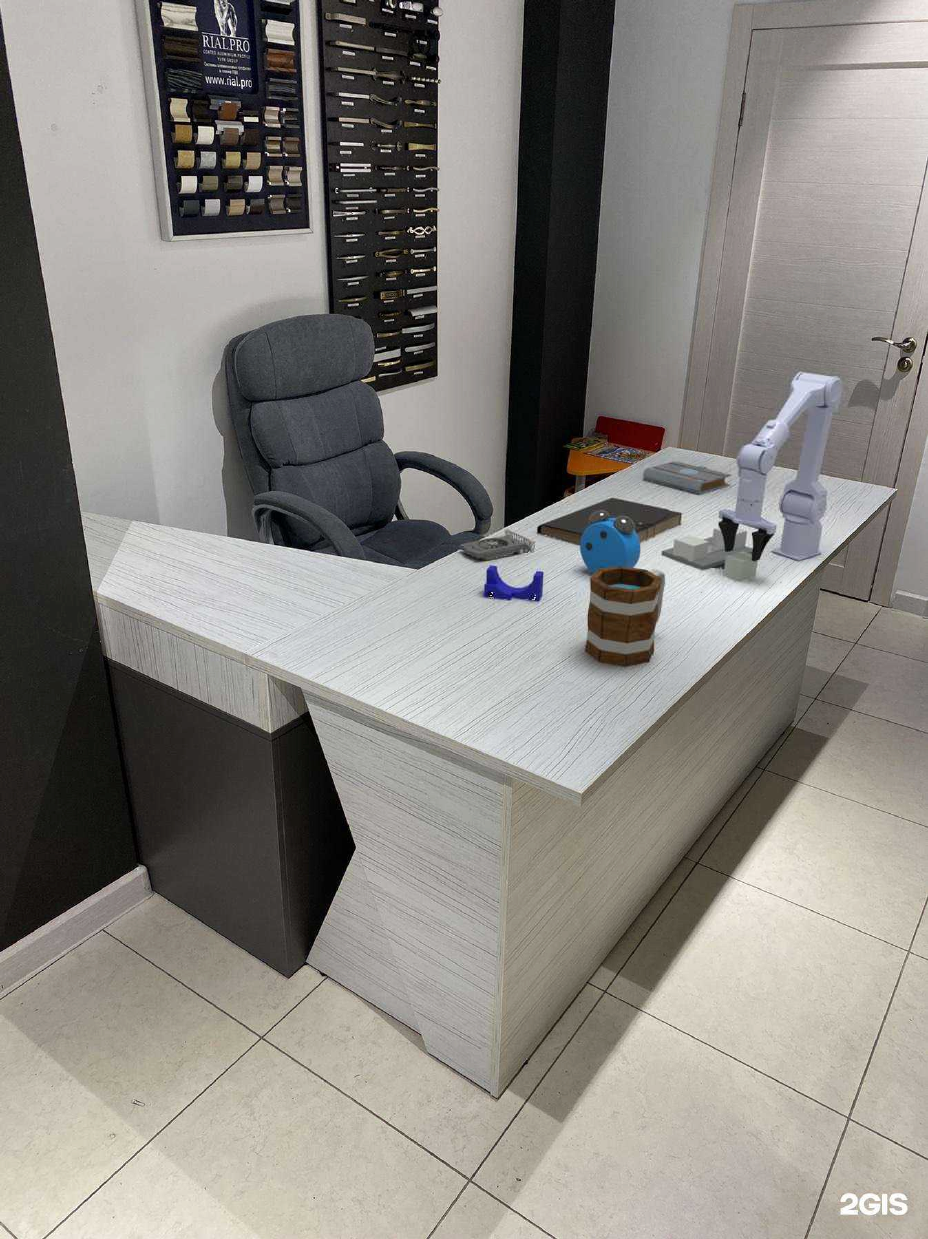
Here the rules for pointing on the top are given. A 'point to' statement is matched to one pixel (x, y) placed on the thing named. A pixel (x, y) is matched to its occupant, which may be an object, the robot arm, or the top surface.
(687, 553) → the mounted modules
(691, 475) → the book
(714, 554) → the rail board
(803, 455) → the robot arm
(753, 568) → the block
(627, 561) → the alarm clock
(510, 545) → the graphics card
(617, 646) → the mug
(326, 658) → the top surface
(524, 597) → the blue cradle bracket
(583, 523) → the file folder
